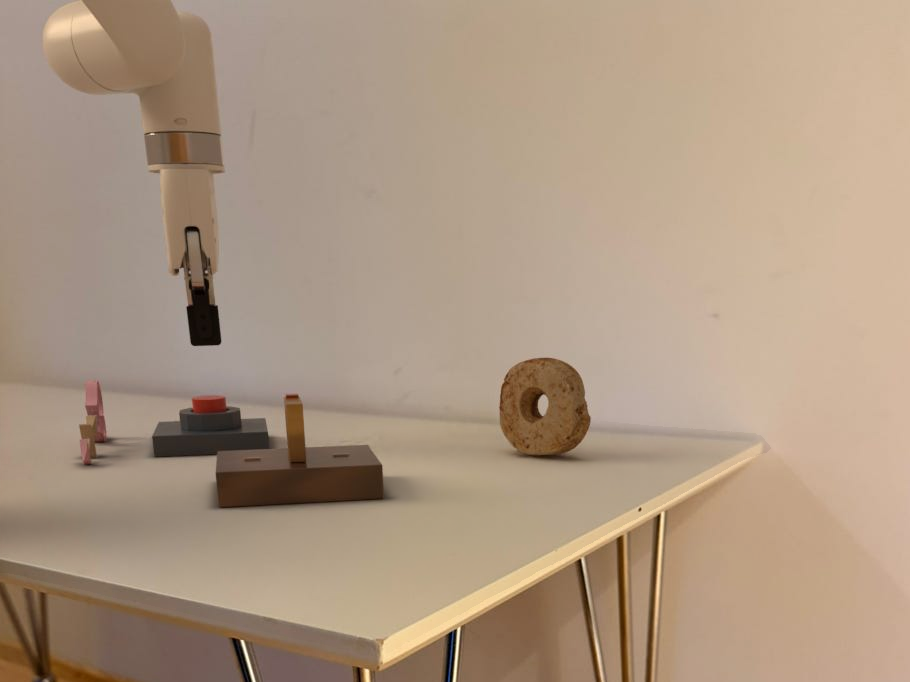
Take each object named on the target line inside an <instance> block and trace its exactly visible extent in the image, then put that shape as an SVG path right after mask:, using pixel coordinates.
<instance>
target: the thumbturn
mask: <svg viewBox="0 0 910 682" xmlns="http://www.w3.org/2000/svg"><path fill="white" fill-rule="evenodd" d="M283 403H284V418H285V419H284V420H285V428H286V429H285V431H286V432H285V433H286V444H287V446H286V447H287V448H288V454H289V459H290V462H306V447H307V446H306V433H305V419H304V417H305V416H304V405H303V402H302V399H301V397H300V395H299V393H285V396H284V397H283Z"/></svg>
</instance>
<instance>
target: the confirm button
mask: <svg viewBox="0 0 910 682" xmlns="http://www.w3.org/2000/svg"><path fill="white" fill-rule="evenodd" d="M226 399H227V398H226V396H224V395H216V394H215V395H211V394H209V395H198V396H193V397H191V404H192V408H193V412H194V413H216V412H225V411H227V407H226V406H227V400H226Z"/></svg>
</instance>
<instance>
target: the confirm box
mask: <svg viewBox="0 0 910 682" xmlns="http://www.w3.org/2000/svg"><path fill="white" fill-rule="evenodd" d="M226 407H227V411H225V412H216V413H194V412H193V407H188V408H183V409H180V410H179V412H178V416H179V420H175V421H174V420H173V421H170V420H169V421H158V423H157V424H156V427H155V429H154V431H153V433H152V436H151V440H152V448H153V456H154V457H155V458H158V457H160V458H161V457H183V456H206V455H208V456H209V455H217V452H218V451H233V450H257V449H270V441H269V440H270V439H269V429H268V426H267V419H266V418H265V417H258V418H257V417H255V418H242V413H241V408H240V407H236V406H231V405H230V406H228V405H226Z"/></svg>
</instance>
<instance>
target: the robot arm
mask: <svg viewBox="0 0 910 682" xmlns="http://www.w3.org/2000/svg"><path fill="white" fill-rule="evenodd" d="M41 41H42V49H43V53H44V57H45V59H46V61H47V64H48V66H49V67H50V68H51V71H52V72H54V74H55V75H56V76H57V77H58V78H59V79H60V80H61V81H62V82H63V83H65V84H66V85H67V86H69V87H70V88H72V89H73V90H76V91H79V92H81V93H85V94H88V95H97V96H100V95H102V96H103V95H119V94H135V95H137V96H138V97H139V98H138V100H139V106H140V107H139V108H140V115H141V122H142V131H143V138H144V145H145V154H146V162H147V171H148V173H151V174H159V189H160V190H159V191H160V202H161V203H160V204H161V214H162V223H163V229H164V239H165V248H166V258H167V268H168V273H169V274H170V275H171V276H173V277H176V276H179V275H180V269H183V276H184V282H185V292H186V300H187V306H186V307H185V309H186V315H187V326H188V332H189V341H190V345H191V346H193V347H207V346H209V347H212V346H220V345H221V344H222V331H221V322H220V313H219V305H218V304H216V297H215V287H214V275H216V273H218V271H219V262H220V260H219V259H220V257H219V255H220V250H219V249H220V247H219V246H220V244H219V225H218V223H219V222H218V212H217V211H218V210H217V200H216V190H215V179H214V175H215V174H224V173H226V169H225V159H224V149H223V148H224V147H223V139H222V138H223V137H222V128H221V119H220V109H219V98H218V88H217V79H216V70H215V69H216V68H215V59H214V58H215V57H214V48H213V40H212V32H211V30H210V27H209V25H208V24H207V22H206V21H205V20H204V19H203V18H202V17H201V16H199V15H196V14H194V13H190V12H186V11H181V10H176V7H175V6H174V4H173V2H172V0H76V1H73V2H69V3H67V4H65V5H62V6H61V7H59V8H57V9H56V10H55V11H54V12H53V13H52V14H51V15H50V16H49V17H48V19H47V21H46V22H45V25H44V27H43V31H42V40H41Z"/></svg>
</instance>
